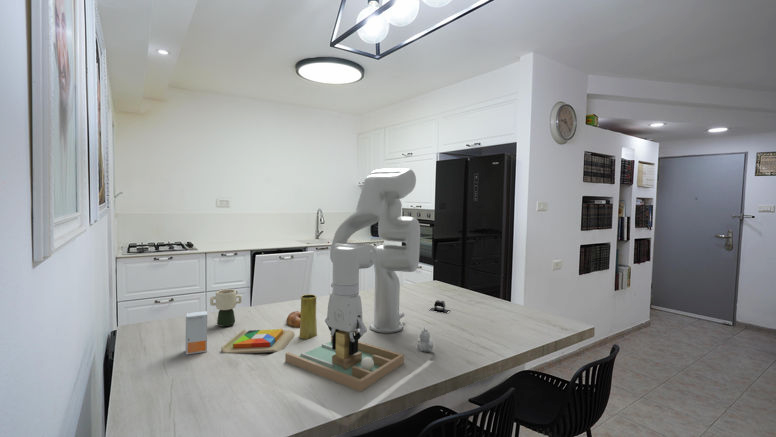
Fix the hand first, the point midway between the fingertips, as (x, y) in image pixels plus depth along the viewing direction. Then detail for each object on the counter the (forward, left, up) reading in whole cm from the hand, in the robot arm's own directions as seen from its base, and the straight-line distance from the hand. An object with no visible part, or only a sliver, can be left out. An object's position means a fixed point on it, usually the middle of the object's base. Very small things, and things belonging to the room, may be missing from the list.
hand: (344, 350), depth 106 cm
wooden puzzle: (+4, -34, -6) cm, 35 cm away
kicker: (0, +1, -3) cm, 3 cm away
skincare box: (+20, -44, -5) cm, 49 cm away
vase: (-10, -26, -5) cm, 28 cm away
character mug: (+1, -59, -5) cm, 59 cm away
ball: (0, +10, -3) cm, 10 cm away
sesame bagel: (-18, -39, -5) cm, 44 cm away
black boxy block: (-67, -3, -6) cm, 67 cm away
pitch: (0, 0, -5) cm, 5 cm away
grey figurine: (-23, +14, -5) cm, 27 cm away
